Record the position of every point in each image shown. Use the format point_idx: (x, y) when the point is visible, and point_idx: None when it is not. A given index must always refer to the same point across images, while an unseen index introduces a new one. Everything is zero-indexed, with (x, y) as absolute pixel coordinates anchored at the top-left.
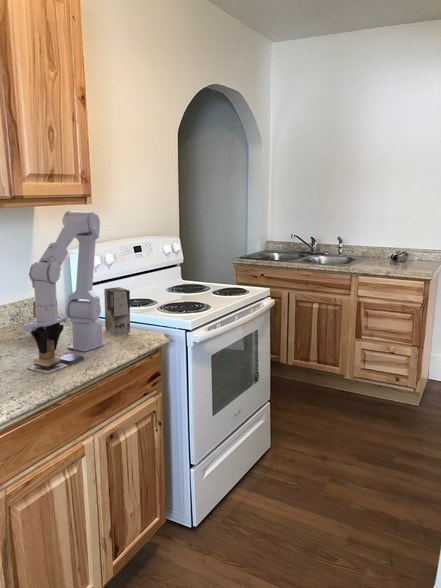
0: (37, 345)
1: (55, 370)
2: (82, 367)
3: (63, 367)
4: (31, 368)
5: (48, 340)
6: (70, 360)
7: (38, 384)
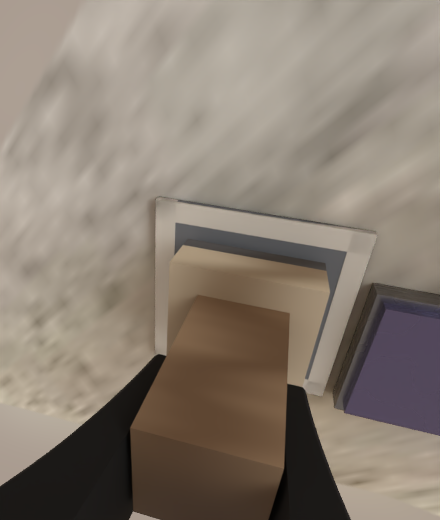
0: (109, 401)
1: None
2: None
3: None
4: (162, 231)
5: (220, 509)
6: (358, 409)
7: (41, 373)
